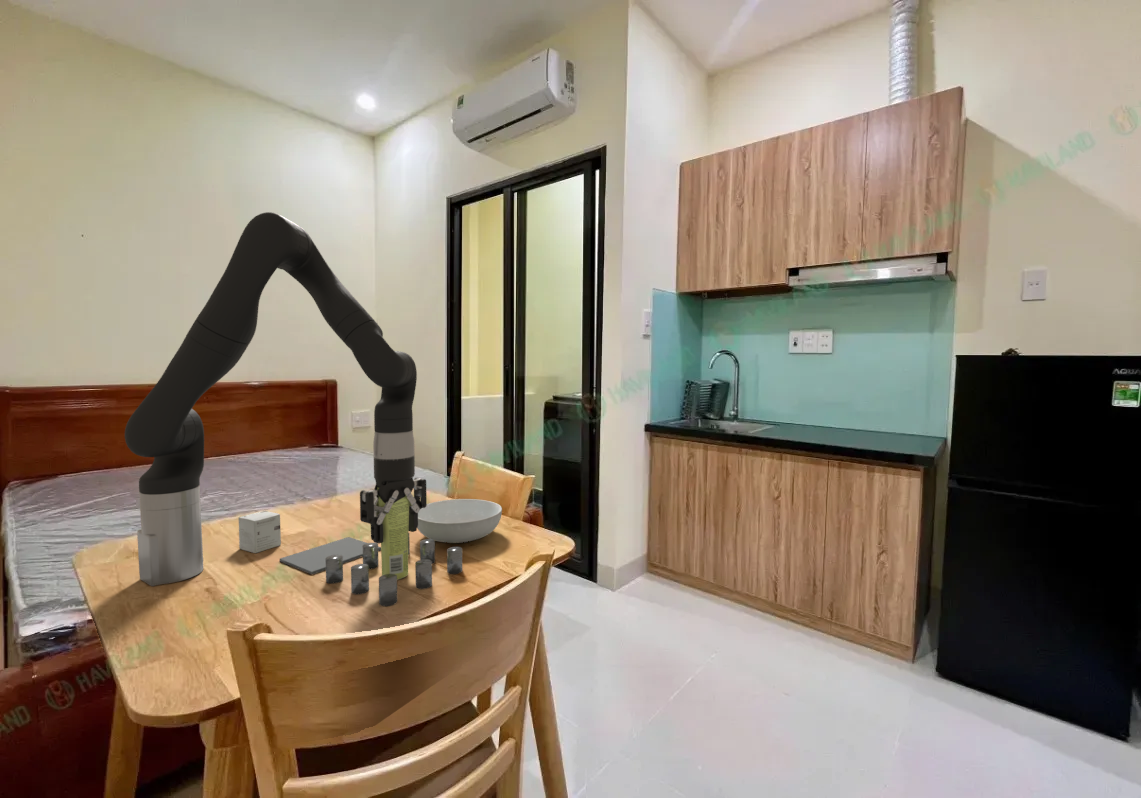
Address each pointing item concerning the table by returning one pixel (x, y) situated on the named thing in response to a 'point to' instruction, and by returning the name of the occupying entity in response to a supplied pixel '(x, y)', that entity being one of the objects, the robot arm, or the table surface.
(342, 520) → the table surface
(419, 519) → the serving bowl
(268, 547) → the skincare box
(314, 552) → the slate mat
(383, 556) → the tube
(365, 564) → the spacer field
